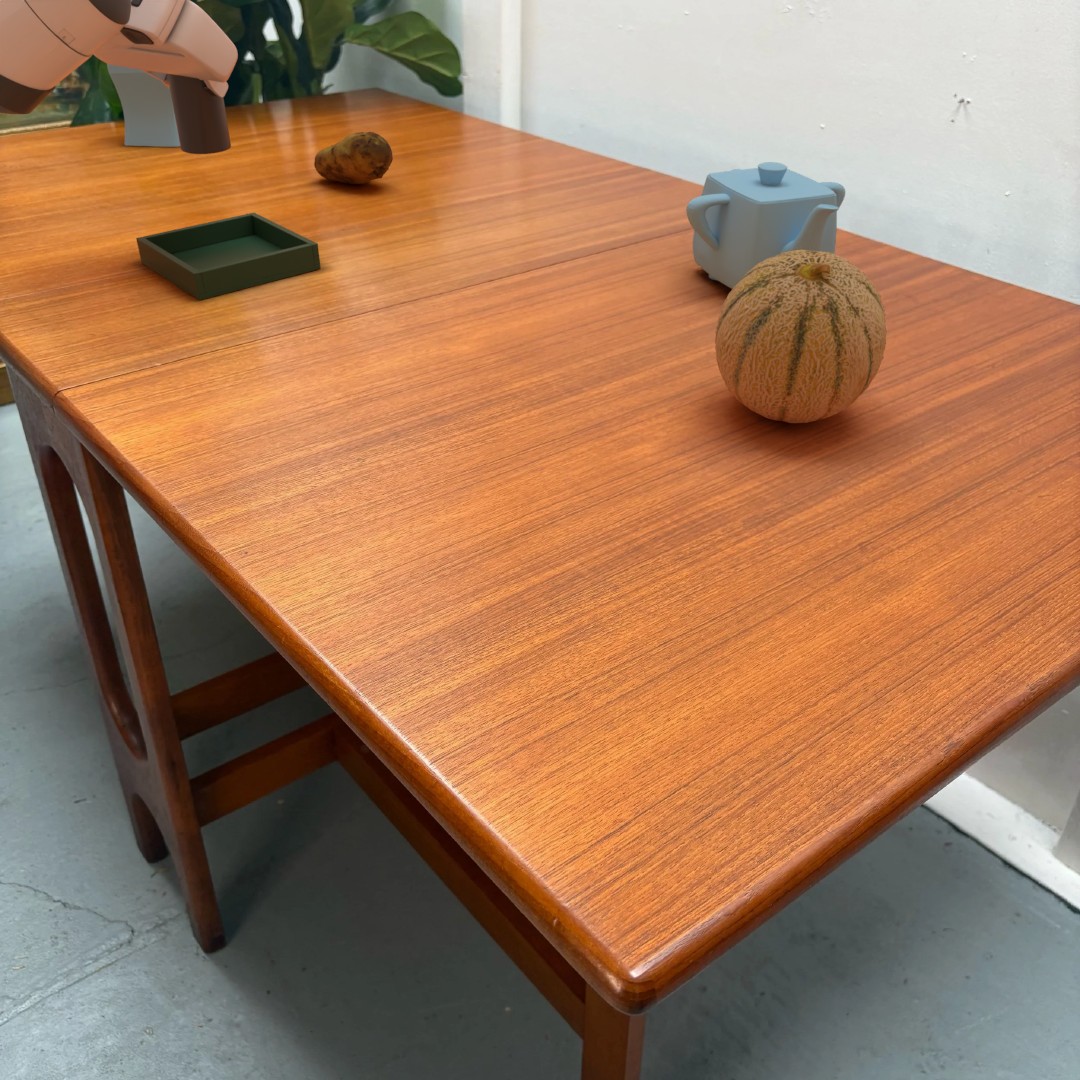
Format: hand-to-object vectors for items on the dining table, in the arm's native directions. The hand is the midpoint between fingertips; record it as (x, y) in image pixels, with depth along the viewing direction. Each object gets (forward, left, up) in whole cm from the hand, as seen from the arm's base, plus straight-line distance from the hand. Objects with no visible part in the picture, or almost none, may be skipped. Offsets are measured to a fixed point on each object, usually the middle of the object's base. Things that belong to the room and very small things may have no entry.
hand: (200, 88), depth 115 cm
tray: (-2, -4, -19) cm, 20 cm away
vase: (+18, +59, -19) cm, 65 cm away
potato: (+28, +15, -19) cm, 38 cm away
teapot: (+42, -50, -19) cm, 68 cm away
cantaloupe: (+19, -71, -19) cm, 76 cm away
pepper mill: (-1, 0, -6) cm, 6 cm away
